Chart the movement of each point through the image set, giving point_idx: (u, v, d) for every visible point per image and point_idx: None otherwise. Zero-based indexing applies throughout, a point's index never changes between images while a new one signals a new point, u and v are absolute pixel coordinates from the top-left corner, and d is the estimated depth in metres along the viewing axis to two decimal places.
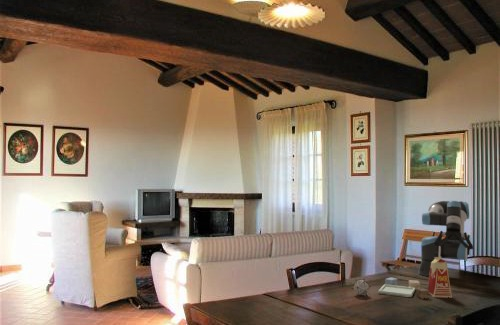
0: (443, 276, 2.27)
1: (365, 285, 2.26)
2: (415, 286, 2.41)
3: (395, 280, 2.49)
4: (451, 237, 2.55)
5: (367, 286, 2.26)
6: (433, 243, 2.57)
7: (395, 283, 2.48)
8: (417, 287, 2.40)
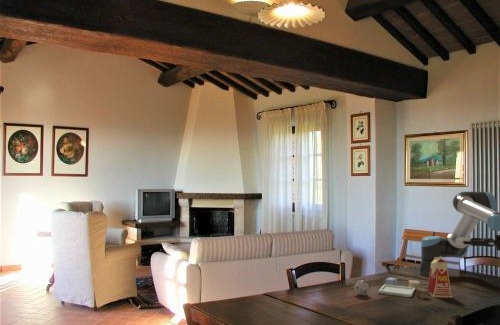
0: (443, 276, 2.27)
1: (365, 285, 2.26)
2: (415, 286, 2.41)
3: (395, 280, 2.49)
4: None
5: (367, 286, 2.26)
6: None
7: (395, 283, 2.49)
8: (417, 287, 2.40)
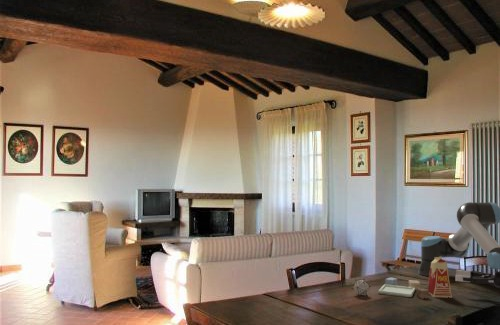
0: (443, 276, 2.27)
1: (365, 285, 2.26)
2: (415, 286, 2.41)
3: (395, 280, 2.49)
4: None
5: (367, 286, 2.26)
6: (473, 283, 2.14)
7: (395, 283, 2.49)
8: (417, 287, 2.40)
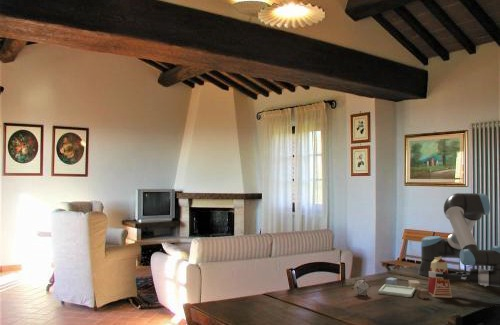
0: None
1: (365, 285, 2.26)
2: (415, 286, 2.41)
3: (395, 280, 2.49)
4: None
5: (367, 286, 2.26)
6: (445, 279, 2.22)
7: (395, 283, 2.49)
8: (417, 287, 2.40)
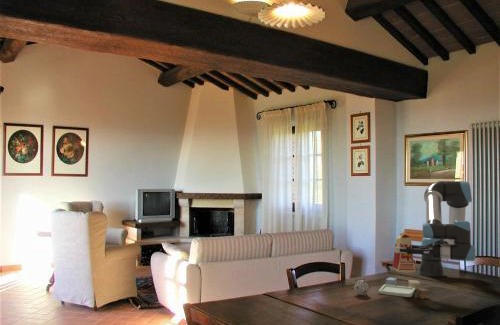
0: None
1: (365, 285, 2.26)
2: (415, 286, 2.41)
3: (395, 280, 2.49)
4: None
5: (367, 286, 2.26)
6: None
7: (395, 283, 2.49)
8: (417, 287, 2.40)
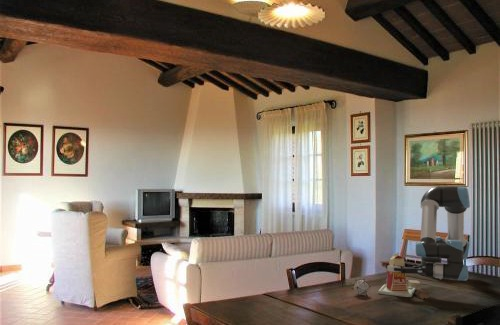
0: (400, 272, 2.32)
1: (365, 285, 2.26)
2: (415, 286, 2.41)
3: None
4: None
5: (367, 286, 2.26)
6: None
7: None
8: (417, 287, 2.40)
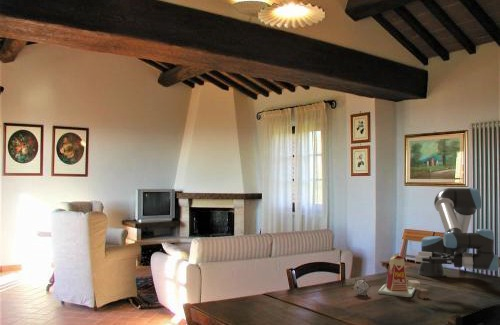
0: (400, 272, 2.32)
1: (365, 285, 2.26)
2: (415, 286, 2.41)
3: None
4: None
5: (367, 286, 2.26)
6: (431, 263, 2.19)
7: None
8: (417, 287, 2.40)
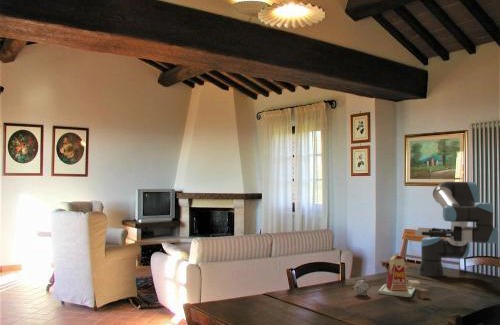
0: (400, 272, 2.32)
1: (365, 285, 2.26)
2: (416, 286, 2.41)
3: None
4: None
5: (367, 286, 2.26)
6: (431, 237, 2.20)
7: None
8: (417, 287, 2.40)
